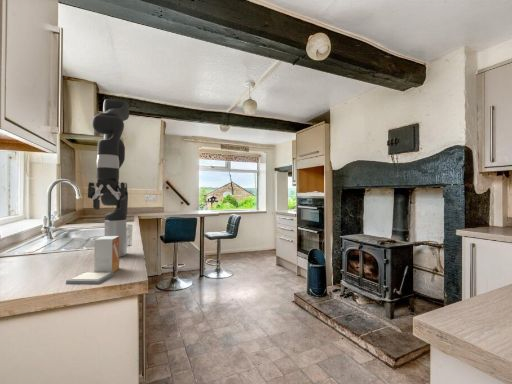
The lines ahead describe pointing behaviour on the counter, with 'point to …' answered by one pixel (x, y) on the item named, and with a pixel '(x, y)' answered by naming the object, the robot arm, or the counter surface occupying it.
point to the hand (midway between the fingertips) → (107, 209)
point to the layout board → (90, 278)
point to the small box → (106, 254)
